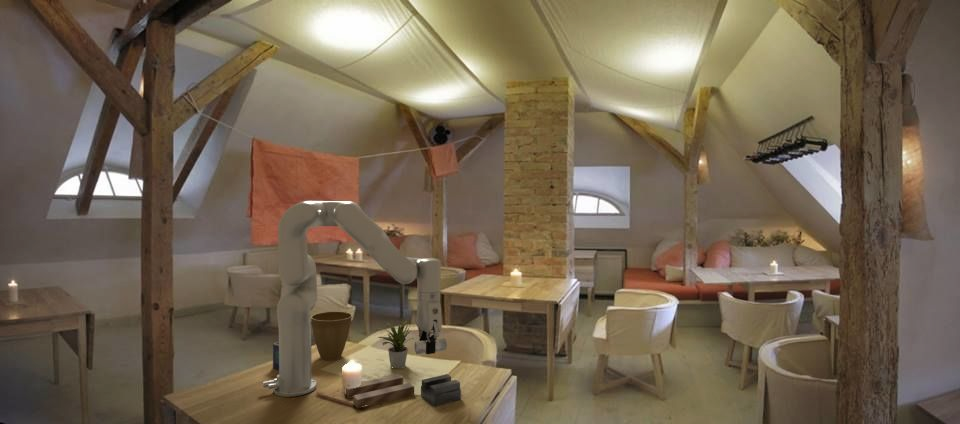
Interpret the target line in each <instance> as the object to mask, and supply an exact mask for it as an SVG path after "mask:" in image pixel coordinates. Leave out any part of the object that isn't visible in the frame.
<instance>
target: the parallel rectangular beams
mask: <svg viewBox="0 0 960 424" xmlns="http://www.w3.org/2000/svg"><path fill="white" fill-rule="evenodd" d="M346 395H347V396H348V397H351V398H353V399H352V401H353V403H354V404H355V406H354V407H355V408H356V409H357V410H358V409H362V408H361V407H362V406H365V405H368V406H367V407H370V406H371V407H372V406H374V405H375V406H376V405H378V404H382V403H386V402H389V401H394V400H399V399H402V398H406V397H407V398H408V397H411V396H414V395H415V385H413V384H412V383H411V382H406V383H404V377H403V376H402V375H401V374H400V373H398V374H393V375H389V376H383V377H380V378H379V377H377V378H375V379H371V380H365V381H361V385H360V386H359V387H356V388H346ZM346 395H345V396H346ZM347 396H346V397H347ZM352 396H353V397H352ZM348 397H347V398H348ZM354 404H353V405H354Z"/></svg>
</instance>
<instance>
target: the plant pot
mask: <svg viewBox="0 0 960 424" xmlns="http://www.w3.org/2000/svg"><path fill="white" fill-rule="evenodd" d="M352 319H353V315H352V313H350V312H346V311H326V312H319V313H314V314H312V315H310V322H311V330H312V333H313V337H314V343H315V346H316V349H317V352H318V354H319V357H320V359H321V360H324V361H334V360H339V359H340V358H342V355H343V352H344V350H345V347H346V345H347V341H348V337H349V334H350V329H351V324H352Z"/></svg>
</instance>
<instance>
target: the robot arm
mask: <svg viewBox="0 0 960 424" xmlns="http://www.w3.org/2000/svg"><path fill="white" fill-rule="evenodd" d="M281 215H282V216H281V217H280V220H279V222H278V226H277V227H278V228H277V234H278V235H277V237H278V239H277V240H278V241H277V242H278V276H279V279H280V280H281V282H282V283H284V284H285V285H287V287H286V288H287V291H286V292H285V293H284V294H283V295H282V296H281V297H280V298H279V301H278V302H277V306H276V316H277V324H278V342H279V371H278V374H277V375H276V377H275V378H274V377H273V379H271V380H265V381H262V389H265V388H267V389H268V390H271V389H273V393H274V394H275V395H276V396H279V397H284V398H285V397H286V398H287V397H288V398H289V397H290V398H291V397H299V396H302V395H306V394H309V393H311V392H312V391H314V390H315V389H316V388H317V386H318V384H317V381H316V380H315V379H313V378H312V322H311V311H312V310H313V308H314V307H315V306H316V304H317V301H318V282H317V279H318V278H317V277H318V276H317V265H316V262H315V260H314V258H313V257H312V256H311V255H309V254H308V237H307V231H308V230H309V229H311V228H316V227H339V228H340V229H341V230H343V231H344V232H345V233H346V234H347V235H348V236H349V237H350V238H351V239H352V240H353V241H355V242H356V243H357V244H358V245H359V246H360V247H361V248H362V249H363V250H364V251H365V252H366V253H367V254H368V255H369V256H370V257H371V258H372V259H373V260H374V261H375V262H376V264H378V265H379V266H380V267H381V269H383V270H384V271H385V272H386V273H387V274H388V275H389V276H391V278H393V279H394V281H396V282H398V283H400V284H402V285H408V284H411V283H413V282H414V281H415V280H416V279H417V289H416V290H417V291H416V294H417V295H416V301H417V303H416V304H417V305H416V317H415V320H416V321H415V323H416V324H415V325H416V327H417V329H418V330H417V331H418V336H419V339H418V341H424V340H427V342H426V353H425V354H426V355H432V354H436V352H435V346H436V339H438V337H440V332H441V331H442V330H443V329H442V328H443V327H442V324H443V323H442V320H443V319H442V318H443V317H442V306H441V280H442V279H441V278H442V277H441V274H442V262H441V260H440V259H438V258H434V257H433V258H431V257H427V258H418V257H412V256H410V257H409V256H406V255H405V254H403V252H401V251H400V250H399V249H398V247H396V246H395V245H394V244H393V243H392V241H391V240H390V238H389V236H388V234H387V233H386V232H385V231H384V229H382V227H380V226H379V224H377V223H376V222H375V221H373V220H372V219H371V218H370V217H369V216H368V215H367V214H366V213H365V212H364V211H363V210H362V208H361V206H360V204H358V203H356V202H354V201H350V200H349V201H348V200H346V201H330V200H329V201H326V200H325V201H324V200H304V201H300V202H298V203H295V204H293V205H292V206H290V207H289V208H287V210H285V211H284V213H283V214H281Z"/></svg>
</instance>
